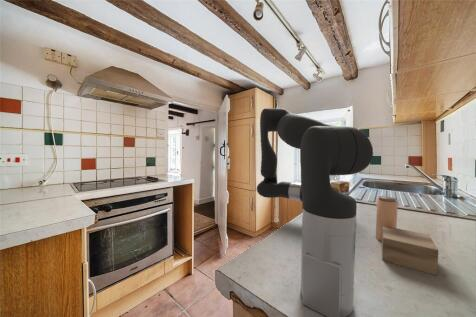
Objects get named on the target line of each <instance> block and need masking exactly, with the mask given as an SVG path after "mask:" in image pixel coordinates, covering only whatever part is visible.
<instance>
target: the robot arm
mask: <svg viewBox="0 0 476 317" xmlns="http://www.w3.org/2000/svg"><path fill="white" fill-rule="evenodd" d="M260 112H261V113H260V117H259V118H260V119H259V127H260V128H259V130H260V131H259V132H260V134H259V135H260V150H261V152H260V153H261V161H260V175H261V176H262V177H263V180H262V181H260V182H259V183H258V185H257V186H256V192H257V194H258V195H260V197H263V198H268V199H269V198H270V199H271V198H272V199H273V198H284V199H289V200H293V201H297V202H301V203H302V217H301V218H302V223H301V254H300V255H301V258H300V260H301V262H300V263H301V264H300V265H301V267H300V272H301V273H300V294H301V297H302V301H301V302H302V305H304V306H306V307H308V308H309V309H312V310H313V311H315V312H317V313H319V314H321V315H323V316H325V317H348V316H349V315H351V314H352V313H353V310H354V298H355V297H354V294H355V263H356V262H355V261H356V260H355V257H356V256H355V255H356V235H357V234H356V232H357V231H356V230H357V210H358V209H357V208H358V207H357V202H356V199H355V198H354V197H353V196H351V195H350V194H349V195H348V194H346V193H341V192H338V191H336V190H334V189H333V188H332V187H331V178H330V176H349V175H355V174H358V173H361V172H362V171H365V170H366V169H367V167H369V165H370V164H371V162H372V160H373V157H374V149H373V144H372V142H371V140H370V139H369V137H368V136H367V135H366V134H365V133H364V132H363V131H362V130H360V129H359V128H357V127H352V126H341V125H334V124H333V125H332V124H327V123H325V122H322V121H319V120H318V119H315V118H311V117H309V116H306V115H303V114H300V113H295V112H294V113H293V112H291V111H289V110H287V109H286V108H273V107H272V108H271V107H270V108H269V107H267V108H263V109H262V111H260ZM269 132H275V133H276V132H277V135H278V137H279V138H280V139H281V140H282V141H283V142H284V143H285V144H287V145H288V146H290V147H292V148H295V149H297V150H298V149H299V152H300V153H299V156H300V157H299V158H300V160H299V161H300V182H290V181H280V182H278V177H277V168H278V157H277V154H276V151H275V149H274V148H273V146H272V144H271V142H270V140H269Z"/></svg>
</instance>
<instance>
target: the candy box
mask: <svg viewBox="0 0 476 317" xmlns="http://www.w3.org/2000/svg"><path fill="white" fill-rule="evenodd" d="M330 183H331V187H332V188H333V189H334V190H336V191H338V192H341V193H346V194H348V195H349V196H350V181H346V180H339V181H330Z"/></svg>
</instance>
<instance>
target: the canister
mask: <svg viewBox="0 0 476 317" xmlns="http://www.w3.org/2000/svg"><path fill="white" fill-rule="evenodd" d="M398 203H399V202H398V201H397V198H395V197H391V196H386V195H385V196H384V195H381V196H380V195H379V196H378V198H377V199H376V217H375V218H376V219H375V239H376V240H377V241H380V242H381V243H382V228H383V226H387V227H392V228H397V226H398V206H399V204H398ZM397 229H398V228H397Z"/></svg>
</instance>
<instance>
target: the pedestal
mask: <svg viewBox="0 0 476 317" xmlns="http://www.w3.org/2000/svg"><path fill="white" fill-rule="evenodd" d="M381 257H382V258H381V259H382V261H385V262H389V263H392V264H396V265H399V266H402V267H406V268H410V269H413V270H416V271H420V272H424V273H427V274H429V275H433V276H438V268H439V267H438V265H439V264H438V263H439V249H438V247H437V246H436V244H435V242H434V240H433V239H432V237H431V236H430V234H427V233H421V232H418V231H417V232H416V231H413V230H412V231H411V230H407V229H401V228H392V227H387V226H383V228H382V242H381Z"/></svg>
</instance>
